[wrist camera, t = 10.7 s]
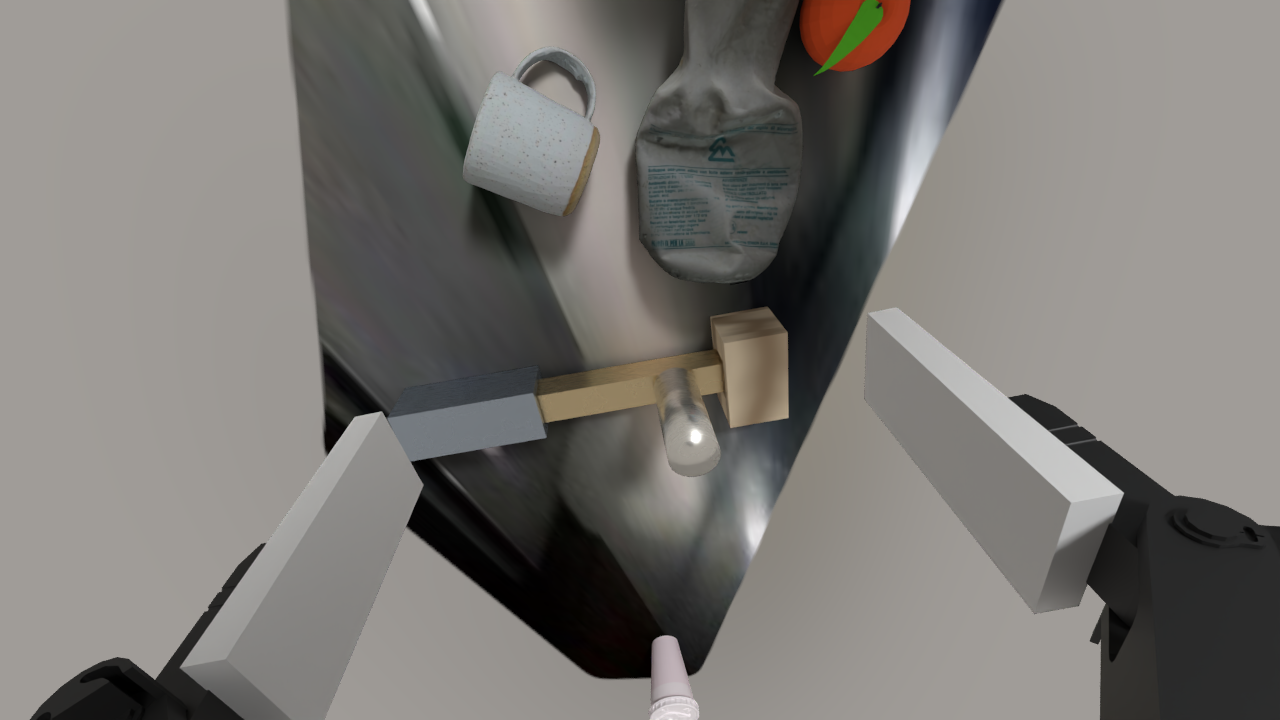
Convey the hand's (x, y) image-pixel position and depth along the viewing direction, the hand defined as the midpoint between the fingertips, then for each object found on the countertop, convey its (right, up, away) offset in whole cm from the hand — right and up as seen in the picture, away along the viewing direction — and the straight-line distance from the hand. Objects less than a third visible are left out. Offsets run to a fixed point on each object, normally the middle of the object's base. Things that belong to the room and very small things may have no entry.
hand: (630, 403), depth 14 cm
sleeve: (-16, -3, +36) cm, 40 cm away
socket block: (+10, +2, +36) cm, 38 cm away
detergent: (+6, +21, +26) cm, 34 cm away
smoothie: (+4, -39, +58) cm, 70 cm away
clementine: (+14, +26, +24) cm, 38 cm away
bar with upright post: (-1, -1, +36) cm, 36 cm away
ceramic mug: (-7, +19, +26) cm, 33 cm away
